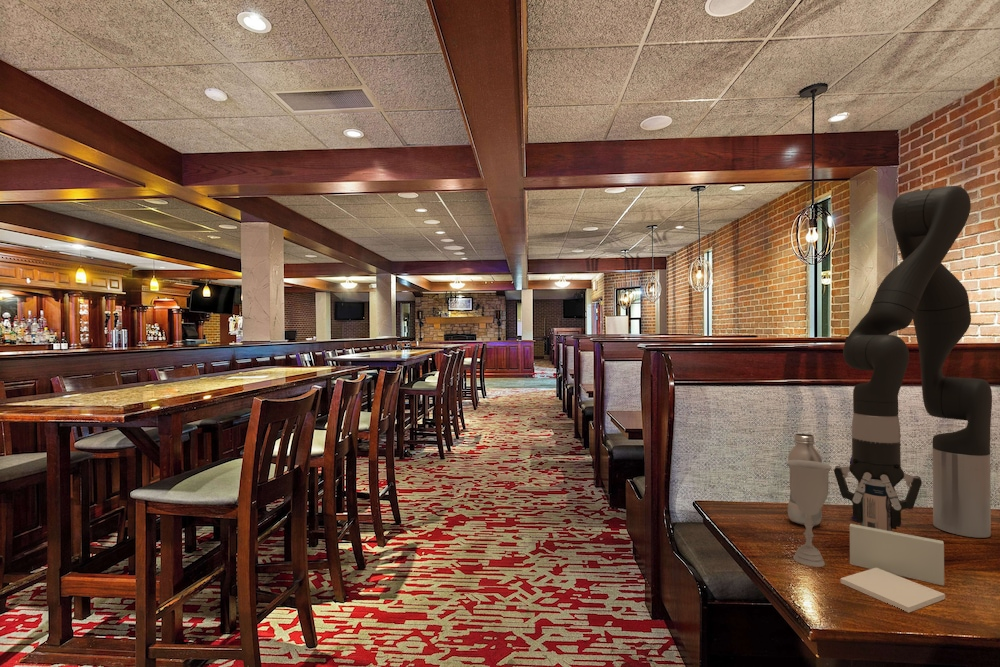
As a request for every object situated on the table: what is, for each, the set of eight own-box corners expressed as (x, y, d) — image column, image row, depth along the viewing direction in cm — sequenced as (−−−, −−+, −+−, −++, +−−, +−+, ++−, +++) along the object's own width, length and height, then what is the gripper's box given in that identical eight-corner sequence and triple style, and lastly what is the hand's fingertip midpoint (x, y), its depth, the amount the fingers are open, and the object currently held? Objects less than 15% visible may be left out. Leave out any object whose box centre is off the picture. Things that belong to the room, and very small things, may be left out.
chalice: (790, 565, 91) (790, 467, 91) (783, 550, 97) (782, 458, 97) (837, 571, 88) (836, 470, 88) (826, 556, 95) (826, 461, 95)
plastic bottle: (782, 518, 115) (782, 431, 115) (813, 519, 114) (813, 432, 114) (794, 528, 108) (794, 437, 109) (828, 530, 108) (827, 438, 108)
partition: (849, 564, 91) (849, 526, 91) (850, 561, 93) (850, 523, 93) (944, 585, 83) (943, 544, 83) (943, 582, 85) (943, 541, 85)
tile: (876, 572, 88) (876, 567, 88) (945, 599, 79) (945, 593, 79) (840, 582, 84) (840, 578, 84) (908, 612, 75) (908, 607, 75)
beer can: (897, 545, 93) (896, 481, 93) (869, 543, 94) (868, 480, 94) (883, 535, 98) (883, 474, 98) (856, 533, 99) (855, 473, 99)
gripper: (829, 436, 98) (830, 522, 98) (925, 445, 89) (926, 540, 89) (832, 430, 104) (833, 511, 104) (922, 438, 95) (923, 527, 95)
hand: (876, 524), depth 96 cm, fingers closed on beer can, 4 cm apart
